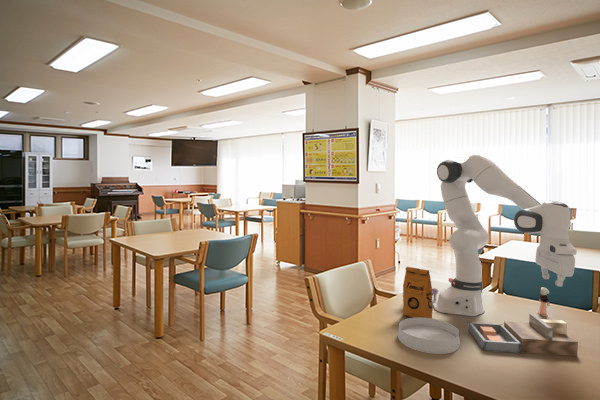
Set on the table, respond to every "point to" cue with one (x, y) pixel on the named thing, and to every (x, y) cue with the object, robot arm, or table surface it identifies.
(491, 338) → the terracotta tile
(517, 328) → the walnut board
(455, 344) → the dish
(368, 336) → the table surface
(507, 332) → the box
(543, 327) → the scraper
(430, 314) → the coffee package
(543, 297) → the grandmother figurine
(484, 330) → the terracotta tile
